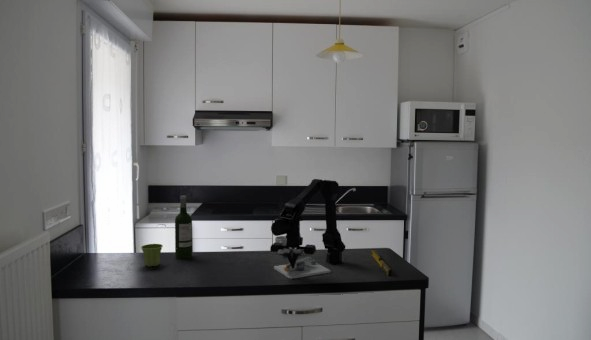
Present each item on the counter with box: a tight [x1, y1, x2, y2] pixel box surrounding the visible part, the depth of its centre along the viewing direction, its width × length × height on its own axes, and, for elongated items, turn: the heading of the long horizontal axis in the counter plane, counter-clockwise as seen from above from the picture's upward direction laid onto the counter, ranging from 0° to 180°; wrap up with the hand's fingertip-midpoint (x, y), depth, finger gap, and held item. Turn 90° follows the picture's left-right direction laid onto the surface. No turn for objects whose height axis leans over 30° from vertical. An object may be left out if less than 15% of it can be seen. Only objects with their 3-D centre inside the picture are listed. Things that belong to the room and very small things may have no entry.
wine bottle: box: [174, 195, 193, 260], centre depth 207 cm, size 8×8×30 cm
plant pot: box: [140, 243, 163, 267], centre depth 194 cm, size 9×9×9 cm
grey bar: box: [284, 256, 312, 273], centre depth 186 cm, size 5×18×4 cm, turn 141°
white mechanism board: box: [273, 256, 331, 280], centre depth 189 cm, size 20×16×4 cm
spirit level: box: [370, 249, 392, 277], centre depth 199 cm, size 33×1×3 cm, turn 2°
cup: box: [274, 235, 286, 255], centre depth 215 cm, size 11×8×8 cm
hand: (293, 268), depth 180 cm, fingers closed
